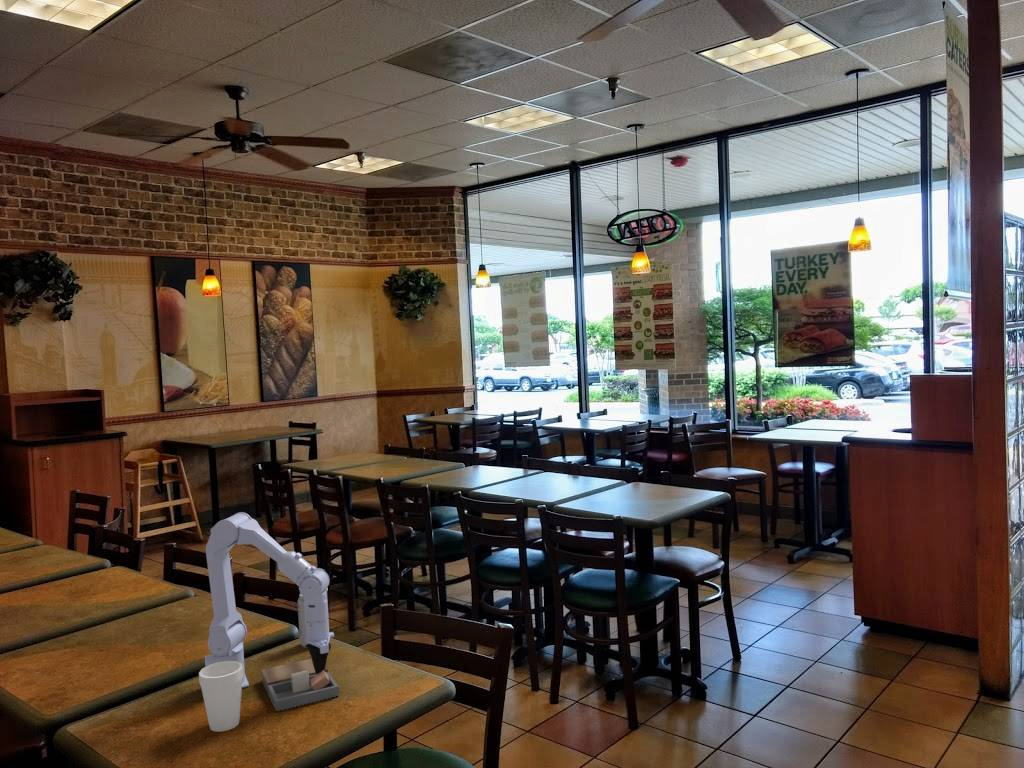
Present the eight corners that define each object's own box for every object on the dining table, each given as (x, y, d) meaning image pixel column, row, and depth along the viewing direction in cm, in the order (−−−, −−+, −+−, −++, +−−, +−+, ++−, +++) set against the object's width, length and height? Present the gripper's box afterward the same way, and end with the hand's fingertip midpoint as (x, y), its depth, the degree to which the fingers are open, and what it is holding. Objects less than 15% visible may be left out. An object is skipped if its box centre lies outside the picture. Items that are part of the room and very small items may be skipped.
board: (268, 694, 191) (267, 683, 191) (262, 680, 199) (261, 669, 199) (328, 680, 198) (328, 669, 198) (320, 667, 206) (319, 656, 206)
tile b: (316, 692, 190) (311, 686, 189) (314, 685, 194) (309, 679, 193) (329, 682, 191) (325, 676, 191) (328, 675, 195) (323, 669, 194)
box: (276, 711, 182) (275, 701, 182) (268, 695, 191) (268, 685, 191) (338, 696, 188) (338, 686, 188) (328, 681, 198) (328, 671, 197)
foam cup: (210, 716, 181) (206, 662, 180) (250, 713, 182) (247, 659, 181) (197, 736, 171) (193, 679, 171) (239, 733, 172) (236, 676, 171)
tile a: (291, 689, 192) (293, 692, 190) (290, 674, 192) (292, 676, 190) (308, 685, 194) (309, 688, 192) (307, 670, 194) (308, 673, 192)
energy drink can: (315, 649, 219) (312, 597, 219) (296, 648, 221) (293, 597, 220) (325, 641, 225) (322, 590, 225) (306, 640, 226) (303, 590, 226)
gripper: (339, 624, 189) (342, 678, 190) (325, 608, 202) (328, 658, 203) (311, 630, 186) (314, 685, 187) (298, 613, 199) (301, 664, 200)
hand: (319, 671), depth 195 cm, fingers closed
